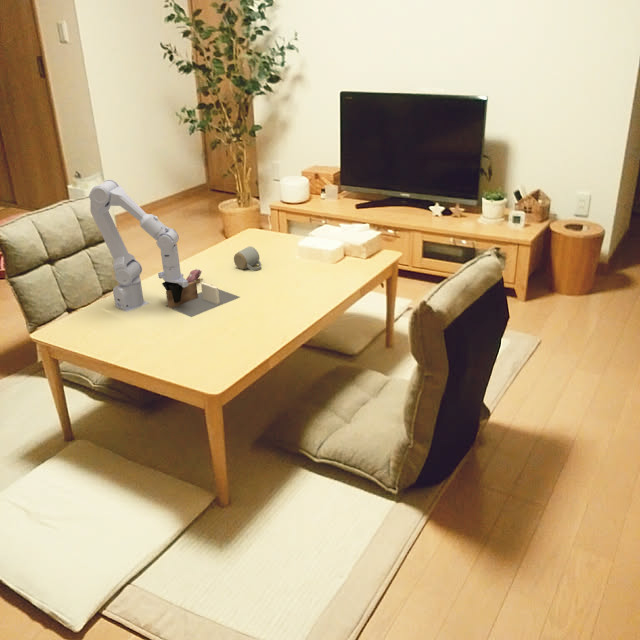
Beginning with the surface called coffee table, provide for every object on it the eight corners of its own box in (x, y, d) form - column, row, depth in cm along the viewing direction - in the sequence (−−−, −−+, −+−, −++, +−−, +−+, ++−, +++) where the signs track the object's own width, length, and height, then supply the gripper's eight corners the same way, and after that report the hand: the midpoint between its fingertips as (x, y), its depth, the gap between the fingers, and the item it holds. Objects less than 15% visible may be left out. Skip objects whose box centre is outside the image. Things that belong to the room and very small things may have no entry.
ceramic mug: (233, 268, 269) (231, 250, 266) (246, 262, 275) (245, 244, 272) (252, 273, 263) (251, 255, 260) (266, 267, 269) (265, 249, 266)
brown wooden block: (170, 308, 233) (168, 292, 230) (168, 307, 233) (165, 291, 231) (197, 297, 240) (196, 282, 238) (195, 296, 241) (193, 281, 239)
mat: (191, 318, 225) (191, 316, 225) (165, 307, 235) (165, 305, 235) (240, 298, 240) (240, 297, 240) (214, 288, 249) (213, 287, 249)
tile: (217, 304, 234) (215, 288, 232) (202, 298, 239) (201, 283, 237) (220, 303, 235) (218, 287, 233) (205, 297, 240) (204, 282, 238)
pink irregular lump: (189, 293, 250) (195, 278, 247) (178, 287, 250) (184, 272, 247) (199, 283, 259) (205, 269, 256) (188, 278, 259) (194, 263, 256)
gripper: (193, 266, 227) (197, 302, 233) (168, 257, 236) (172, 292, 242) (176, 272, 222) (181, 309, 228) (151, 262, 231) (156, 298, 237)
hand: (175, 301), depth 234 cm, fingers closed on brown wooden block, 1 cm apart
